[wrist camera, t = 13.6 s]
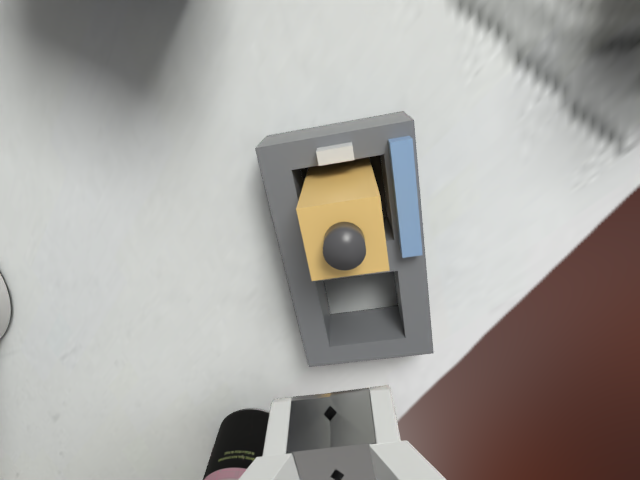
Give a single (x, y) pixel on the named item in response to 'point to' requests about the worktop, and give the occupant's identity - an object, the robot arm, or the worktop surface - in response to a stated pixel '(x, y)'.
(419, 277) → the grey compartment tray
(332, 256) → the drawer with knob
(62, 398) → the worktop surface
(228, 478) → the beverage can
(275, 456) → the robot arm
